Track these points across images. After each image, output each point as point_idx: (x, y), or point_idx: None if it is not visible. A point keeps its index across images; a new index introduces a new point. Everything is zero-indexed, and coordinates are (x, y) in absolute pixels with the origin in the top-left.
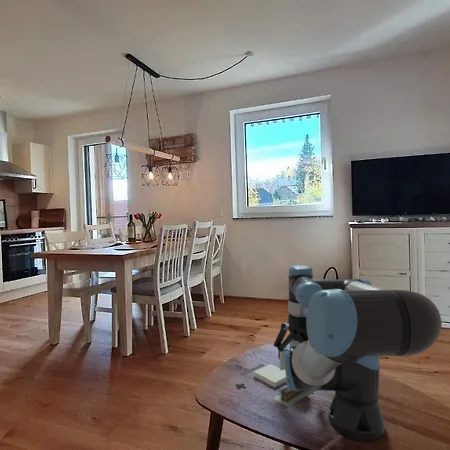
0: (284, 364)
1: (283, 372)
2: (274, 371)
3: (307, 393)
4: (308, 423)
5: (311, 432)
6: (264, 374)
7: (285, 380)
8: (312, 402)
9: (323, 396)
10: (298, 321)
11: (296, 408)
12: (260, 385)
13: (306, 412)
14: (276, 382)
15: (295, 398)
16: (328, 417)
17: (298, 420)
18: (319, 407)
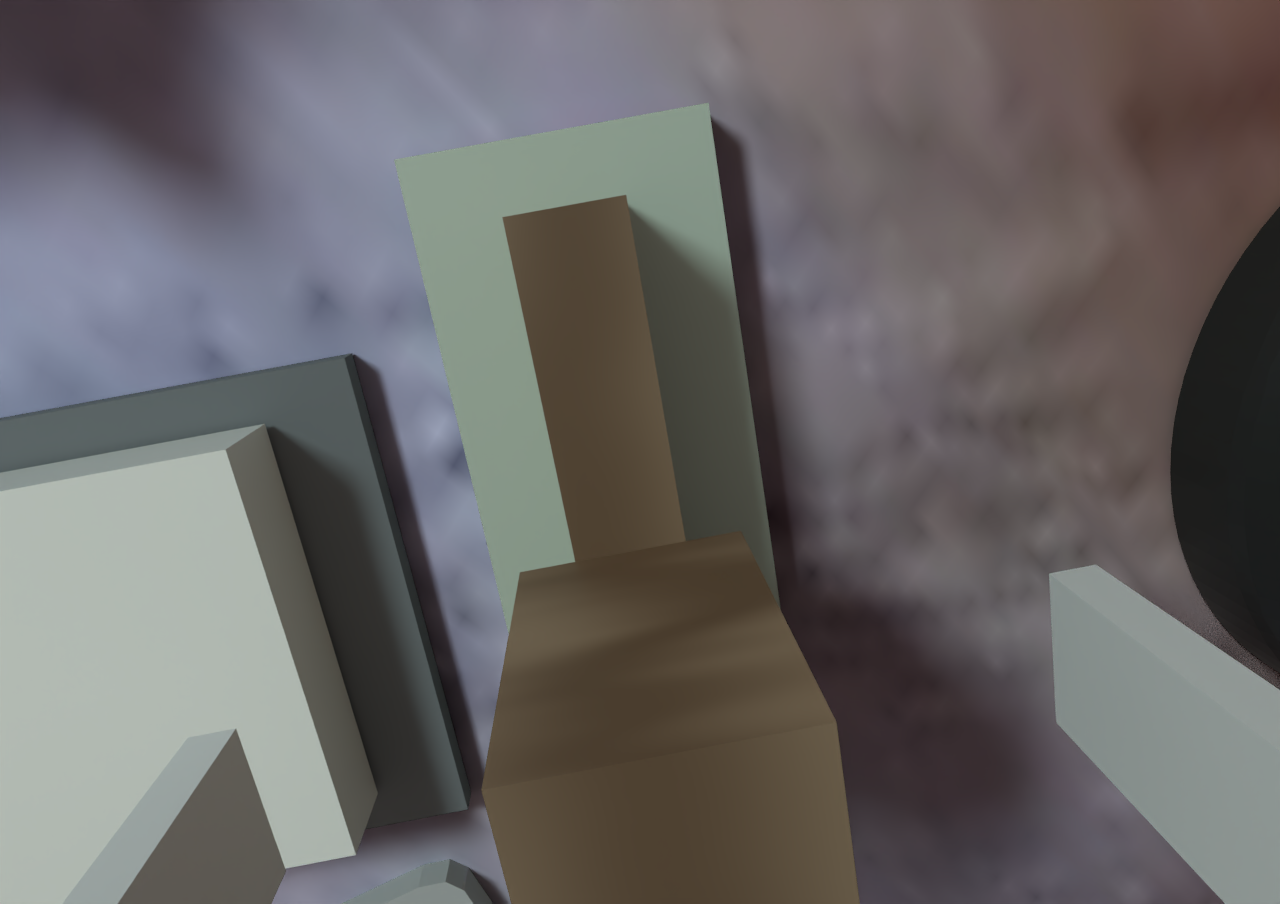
0: (215, 863)
1: (107, 547)
2: (7, 664)
3: (744, 514)
4: (1113, 837)
5: (1218, 897)
6: (44, 859)
7: (300, 596)
8: (874, 537)
9: (865, 294)
10: None
11: (847, 781)
12: None
13: (972, 735)
14: (350, 821)
15: None
16: (1274, 666)
17: (1013, 889)
18: (1003, 538)
